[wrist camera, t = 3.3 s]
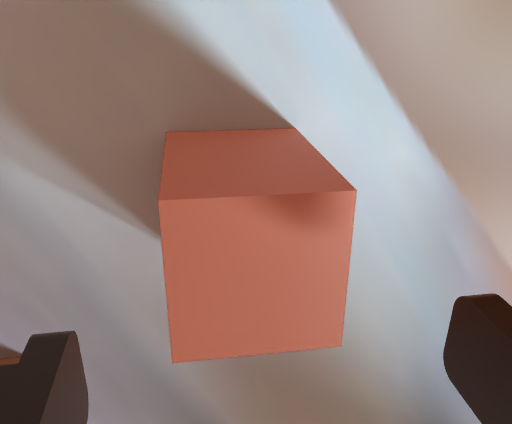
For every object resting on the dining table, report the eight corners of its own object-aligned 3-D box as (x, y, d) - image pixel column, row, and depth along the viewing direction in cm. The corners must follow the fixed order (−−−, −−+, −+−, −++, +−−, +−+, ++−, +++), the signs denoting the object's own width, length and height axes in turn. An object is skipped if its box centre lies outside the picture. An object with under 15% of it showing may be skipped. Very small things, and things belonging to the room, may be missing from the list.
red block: (295, 128, 18) (356, 190, 12) (290, 240, 20) (341, 346, 14) (166, 132, 17) (158, 200, 11) (175, 248, 19) (172, 363, 13)
